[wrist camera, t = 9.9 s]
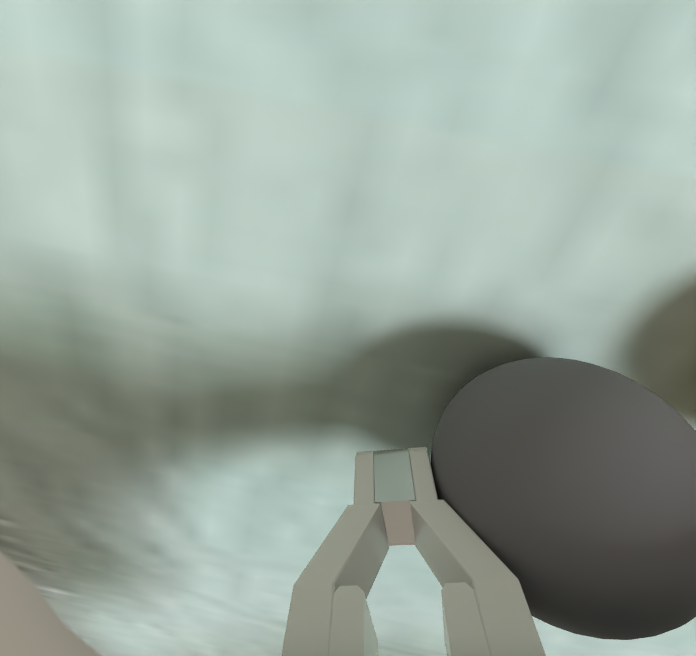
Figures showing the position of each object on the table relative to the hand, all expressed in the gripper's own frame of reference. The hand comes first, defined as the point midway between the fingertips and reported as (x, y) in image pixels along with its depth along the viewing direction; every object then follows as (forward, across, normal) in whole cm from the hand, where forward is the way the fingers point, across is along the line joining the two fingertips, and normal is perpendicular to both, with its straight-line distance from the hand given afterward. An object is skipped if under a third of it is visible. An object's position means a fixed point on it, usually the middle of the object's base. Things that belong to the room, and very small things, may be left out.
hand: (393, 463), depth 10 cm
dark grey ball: (-1, -4, 0) cm, 4 cm away
